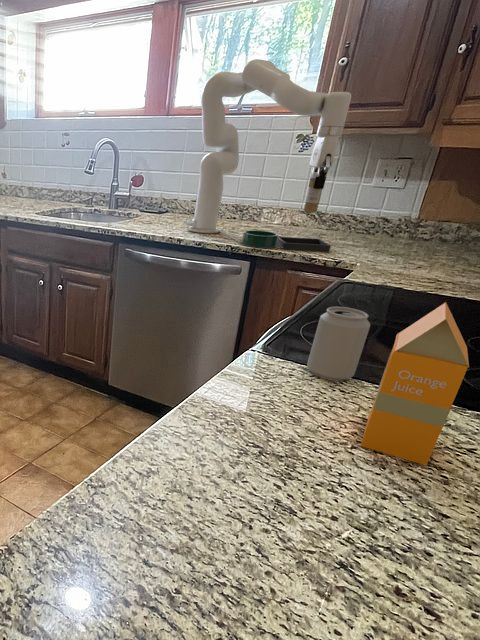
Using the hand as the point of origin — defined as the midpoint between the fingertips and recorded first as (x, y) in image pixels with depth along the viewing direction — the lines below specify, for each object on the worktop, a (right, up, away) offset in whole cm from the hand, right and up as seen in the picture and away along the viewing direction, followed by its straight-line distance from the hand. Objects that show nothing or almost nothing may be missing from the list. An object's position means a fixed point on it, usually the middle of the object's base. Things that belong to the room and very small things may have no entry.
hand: (315, 187), depth 187 cm
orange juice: (-56, -74, -112) cm, 145 cm away
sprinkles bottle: (0, -8, +4) cm, 9 cm away
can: (-53, -64, -91) cm, 124 cm away
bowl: (-15, -18, +12) cm, 26 cm away
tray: (0, -20, +9) cm, 21 cm away
